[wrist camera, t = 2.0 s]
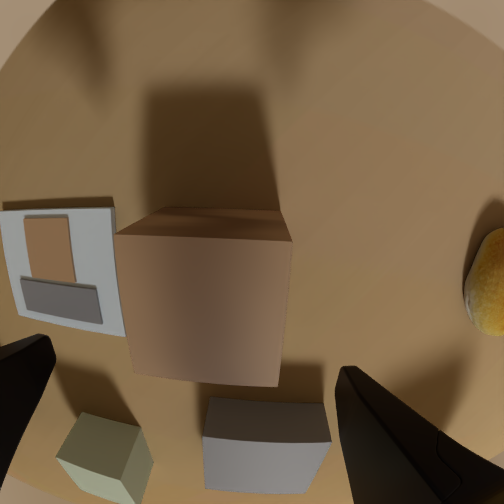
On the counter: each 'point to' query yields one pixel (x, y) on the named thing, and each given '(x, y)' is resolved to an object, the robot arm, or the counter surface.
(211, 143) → the counter surface
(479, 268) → the bread roll
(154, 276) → the walnut cube
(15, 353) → the robot arm
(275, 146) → the counter surface
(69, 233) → the card
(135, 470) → the sage cube
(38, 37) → the counter surface
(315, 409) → the charcoal block
